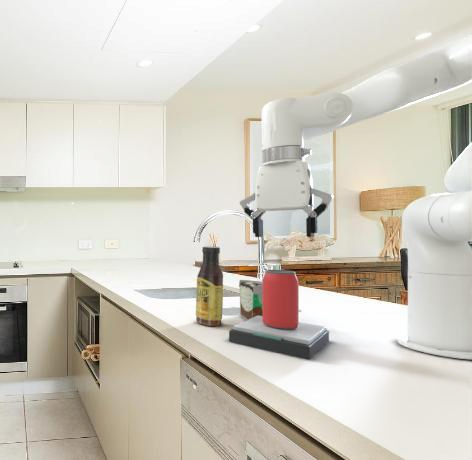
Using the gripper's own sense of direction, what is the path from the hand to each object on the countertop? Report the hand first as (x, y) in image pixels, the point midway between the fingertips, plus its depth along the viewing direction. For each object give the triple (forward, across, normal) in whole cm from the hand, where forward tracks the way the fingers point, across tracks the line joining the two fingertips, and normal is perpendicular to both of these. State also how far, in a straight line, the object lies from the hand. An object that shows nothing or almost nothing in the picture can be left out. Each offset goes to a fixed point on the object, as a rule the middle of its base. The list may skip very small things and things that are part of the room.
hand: (283, 236), depth 77 cm
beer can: (+20, +1, +1) cm, 20 cm away
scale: (+23, +1, +1) cm, 23 cm away
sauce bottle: (+23, +17, -2) cm, 29 cm away
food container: (+23, +10, -16) cm, 30 cm away
